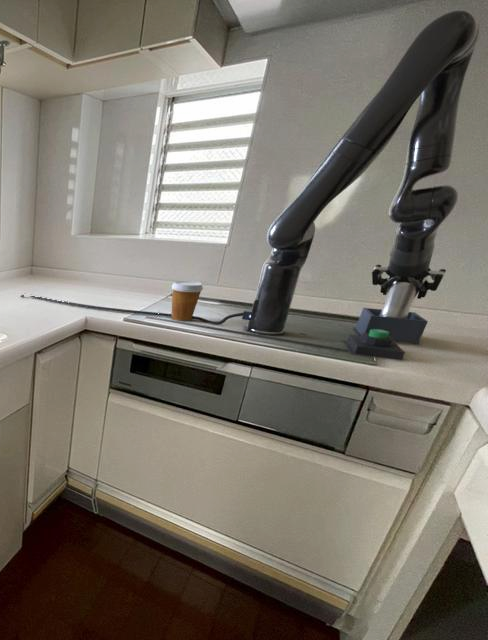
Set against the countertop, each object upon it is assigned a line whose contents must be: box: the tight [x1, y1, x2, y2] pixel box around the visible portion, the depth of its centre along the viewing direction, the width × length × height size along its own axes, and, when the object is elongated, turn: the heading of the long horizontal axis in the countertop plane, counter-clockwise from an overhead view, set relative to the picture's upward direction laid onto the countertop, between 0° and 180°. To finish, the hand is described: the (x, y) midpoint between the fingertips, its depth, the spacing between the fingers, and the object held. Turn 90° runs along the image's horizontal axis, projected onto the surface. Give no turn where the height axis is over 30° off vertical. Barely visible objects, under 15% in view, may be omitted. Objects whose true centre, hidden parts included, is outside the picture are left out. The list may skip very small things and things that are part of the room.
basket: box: [355, 307, 429, 345], centre depth 117 cm, size 12×12×7 cm
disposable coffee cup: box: [170, 280, 204, 322], centre depth 135 cm, size 10×10×12 cm
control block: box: [346, 333, 406, 361], centre depth 105 cm, size 9×12×4 cm
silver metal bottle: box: [379, 281, 420, 319], centre depth 114 cm, size 6×7×20 cm
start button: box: [368, 329, 389, 339], centre depth 104 cm, size 4×4×2 cm
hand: (402, 294), depth 114 cm, fingers closed on silver metal bottle, 6 cm apart
